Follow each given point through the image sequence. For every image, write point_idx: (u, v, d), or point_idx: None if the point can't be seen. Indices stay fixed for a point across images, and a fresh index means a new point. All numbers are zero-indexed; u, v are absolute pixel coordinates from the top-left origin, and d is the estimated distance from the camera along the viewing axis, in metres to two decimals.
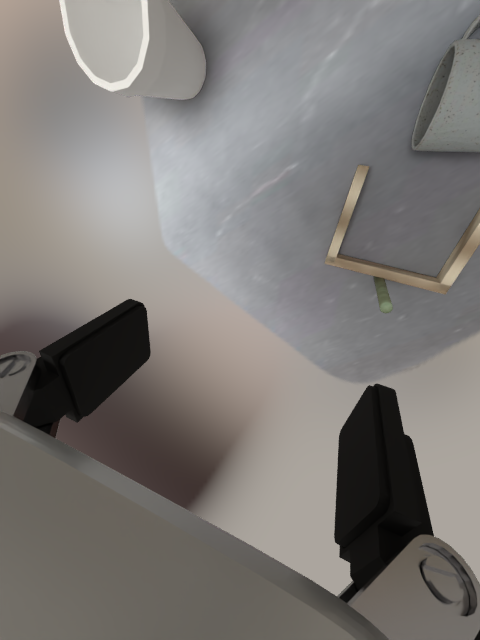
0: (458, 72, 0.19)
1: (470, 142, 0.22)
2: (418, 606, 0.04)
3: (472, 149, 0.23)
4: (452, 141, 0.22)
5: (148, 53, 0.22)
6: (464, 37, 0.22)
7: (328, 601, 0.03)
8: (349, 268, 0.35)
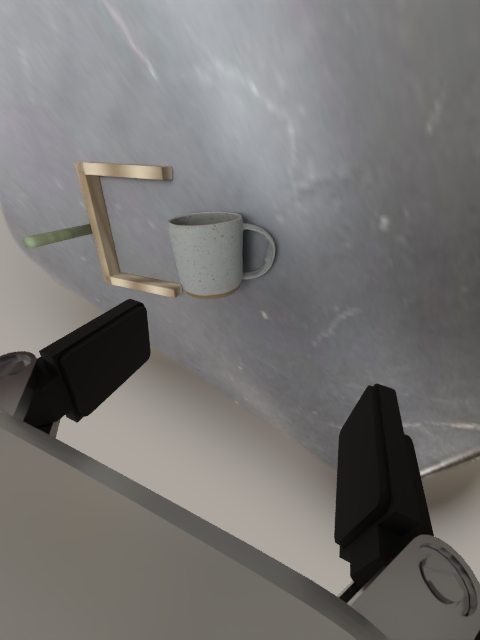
0: (198, 231, 0.23)
1: None
2: (418, 607, 0.04)
3: None
4: None
5: None
6: (249, 227, 0.26)
7: (328, 602, 0.03)
8: (83, 194, 0.31)
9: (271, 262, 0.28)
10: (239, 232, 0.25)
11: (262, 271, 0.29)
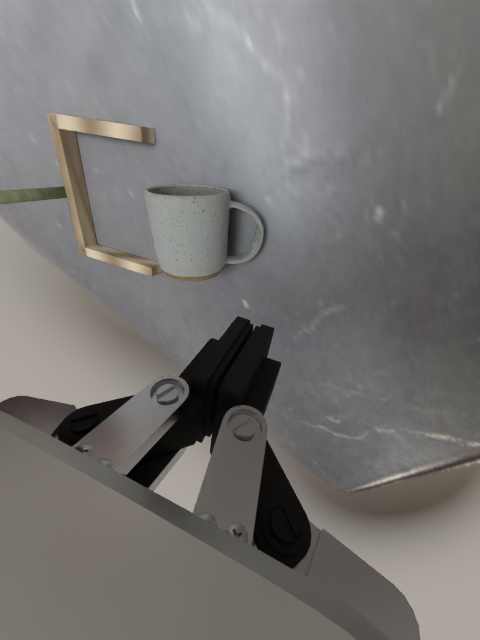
0: (175, 202, 0.20)
1: None
2: (236, 455, 0.06)
3: None
4: None
5: None
6: (236, 205, 0.23)
7: (328, 602, 0.03)
8: (57, 151, 0.28)
9: (258, 247, 0.26)
10: (224, 209, 0.22)
11: (248, 256, 0.26)
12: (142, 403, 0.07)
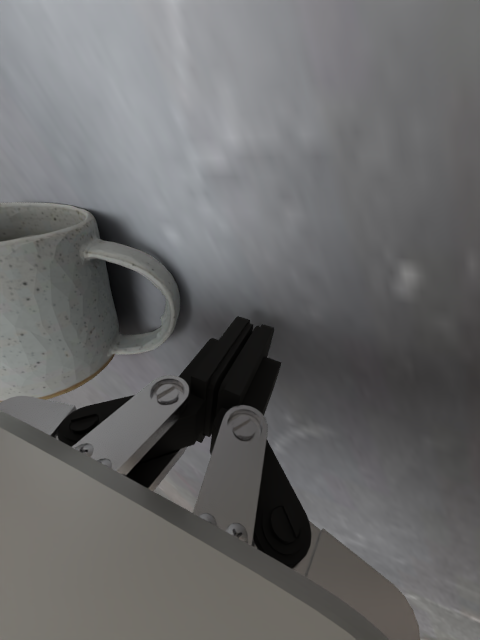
0: None
1: None
2: (236, 455, 0.06)
3: None
4: None
5: None
6: (100, 254, 0.10)
7: (329, 603, 0.03)
8: None
9: (169, 328, 0.13)
10: (60, 268, 0.10)
11: (153, 342, 0.14)
12: (142, 403, 0.07)
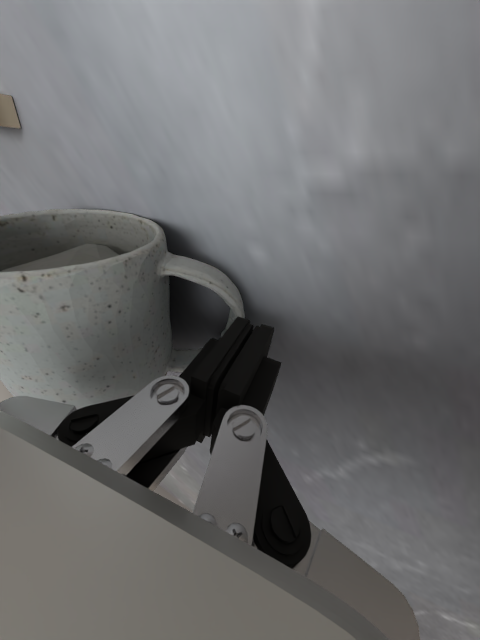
0: None
1: None
2: (236, 455, 0.06)
3: None
4: None
5: None
6: (178, 271, 0.10)
7: (328, 602, 0.03)
8: None
9: None
10: (141, 287, 0.09)
11: None
12: (142, 403, 0.07)
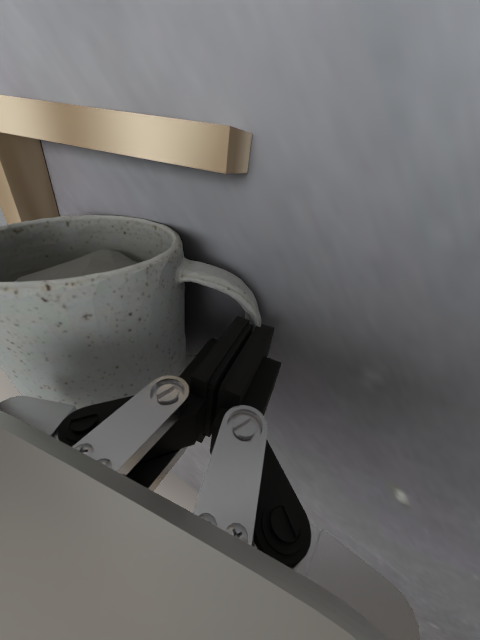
0: None
1: None
2: (236, 455, 0.06)
3: None
4: None
5: None
6: (196, 277, 0.10)
7: (329, 602, 0.03)
8: None
9: None
10: (161, 294, 0.09)
11: None
12: (142, 403, 0.07)
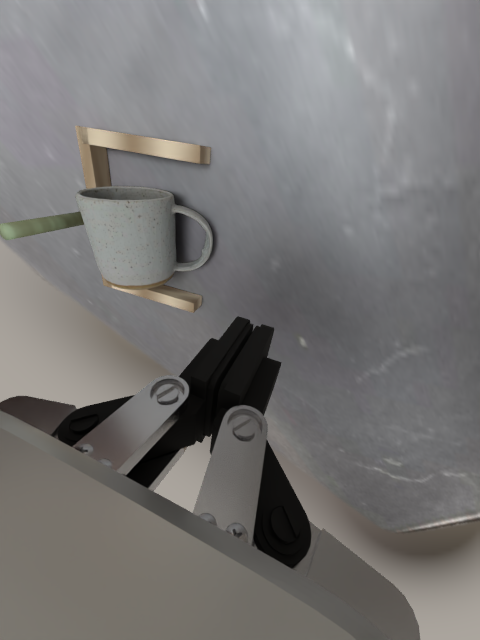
0: (107, 206, 0.18)
1: None
2: (236, 455, 0.06)
3: None
4: None
5: None
6: (180, 210, 0.22)
7: (329, 602, 0.03)
8: (84, 170, 0.24)
9: (208, 254, 0.24)
10: (165, 214, 0.21)
11: (198, 263, 0.25)
12: (142, 403, 0.07)
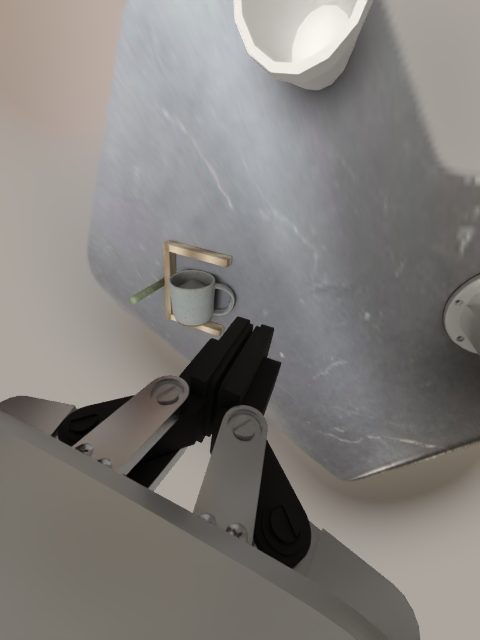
0: (186, 292, 0.39)
1: None
2: (236, 455, 0.06)
3: None
4: (170, 293, 0.42)
5: (262, 65, 0.19)
6: (218, 287, 0.42)
7: (329, 603, 0.03)
8: (164, 262, 0.44)
9: (231, 307, 0.45)
10: (211, 291, 0.41)
11: (225, 311, 0.45)
12: (142, 403, 0.07)
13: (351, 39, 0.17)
